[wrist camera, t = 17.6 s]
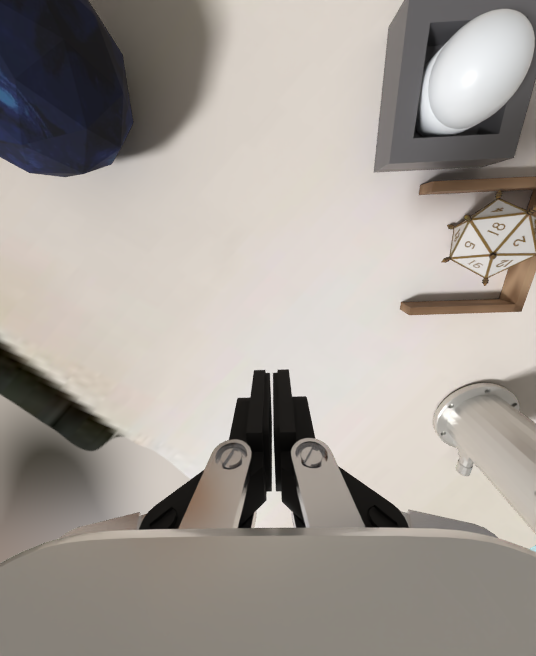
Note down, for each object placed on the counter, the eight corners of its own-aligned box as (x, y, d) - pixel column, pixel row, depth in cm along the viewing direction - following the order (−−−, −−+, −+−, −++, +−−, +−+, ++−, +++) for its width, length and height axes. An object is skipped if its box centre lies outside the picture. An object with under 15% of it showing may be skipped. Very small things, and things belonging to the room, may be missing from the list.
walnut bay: (504, 305, 34) (521, 311, 32) (400, 309, 34) (409, 315, 32) (545, 179, 28) (569, 174, 26) (420, 185, 29) (433, 181, 26)
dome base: (481, 167, 28) (513, 157, 24) (373, 172, 28) (389, 163, 25) (517, 18, 24) (563, -21, 20) (388, 27, 24) (410, -10, 20)
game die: (443, 222, 34) (511, 152, 24) (504, 255, 32) (604, 194, 22) (412, 271, 32) (473, 217, 22) (476, 308, 30) (571, 266, 21)
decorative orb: (135, 225, 26) (-1, 12, 11) (-16, 195, 25) (-366, -75, 11) (171, 125, 30) (103, -130, 15) (41, 96, 29) (-159, -201, 14)
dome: (473, 138, 26) (543, 107, 19) (403, 142, 26) (449, 112, 20) (494, 46, 23) (583, -28, 17) (416, 50, 24) (473, -20, 17)
